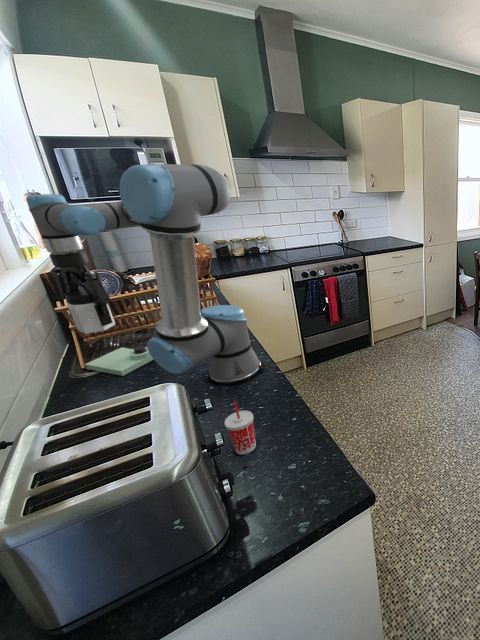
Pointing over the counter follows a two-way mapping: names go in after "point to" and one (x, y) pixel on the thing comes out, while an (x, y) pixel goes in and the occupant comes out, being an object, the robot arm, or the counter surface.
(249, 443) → the beverage cup
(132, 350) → the scale
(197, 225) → the robot arm
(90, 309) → the jar
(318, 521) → the counter surface
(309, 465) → the counter surface
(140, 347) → the tare button
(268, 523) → the counter surface
